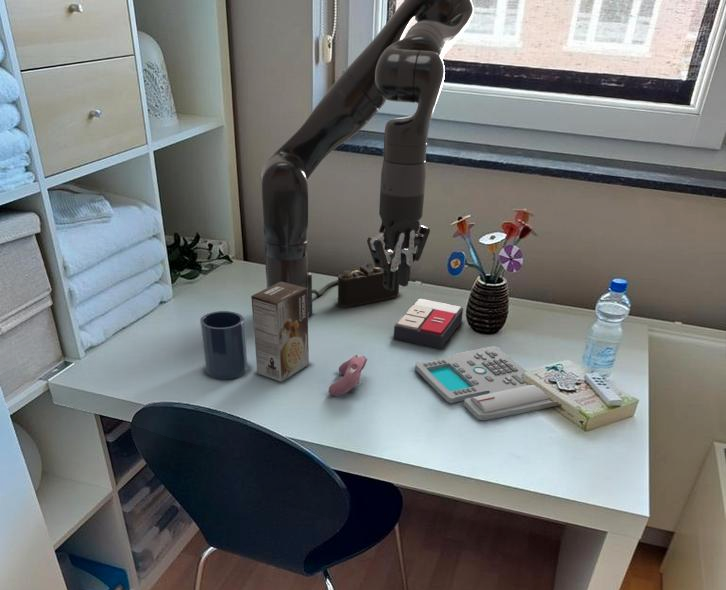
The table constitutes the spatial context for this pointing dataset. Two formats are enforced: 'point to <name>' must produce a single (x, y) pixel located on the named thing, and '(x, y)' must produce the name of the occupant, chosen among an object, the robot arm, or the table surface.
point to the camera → (364, 286)
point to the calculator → (428, 323)
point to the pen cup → (224, 344)
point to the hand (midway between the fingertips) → (395, 286)
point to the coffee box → (281, 330)
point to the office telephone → (484, 383)
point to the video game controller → (348, 375)
